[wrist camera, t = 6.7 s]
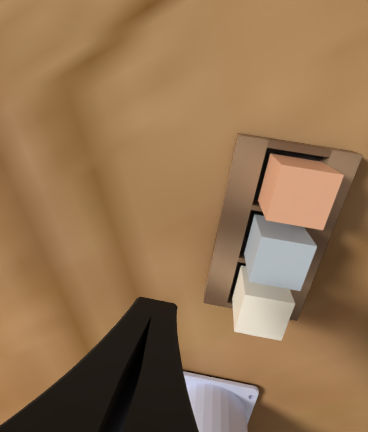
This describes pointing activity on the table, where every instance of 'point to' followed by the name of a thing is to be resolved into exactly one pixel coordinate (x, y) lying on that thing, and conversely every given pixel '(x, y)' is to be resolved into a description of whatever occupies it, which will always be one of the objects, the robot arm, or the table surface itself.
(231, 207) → the brown flat frame
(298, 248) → the key slate
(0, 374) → the table surface
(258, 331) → the cream cube
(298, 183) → the key terracotta
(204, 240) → the table surface
